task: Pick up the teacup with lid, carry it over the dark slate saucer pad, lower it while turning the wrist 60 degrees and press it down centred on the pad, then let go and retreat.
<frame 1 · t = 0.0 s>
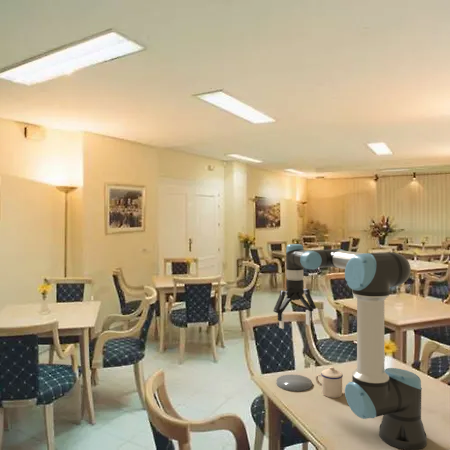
hand: (295, 326, 182), 28 cm above the table, fingers open, 13 cm apart
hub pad: (294, 383, 188), on the table
teacup with lid: (328, 393, 178), on the table
coffee cup: (374, 396, 175), on the table
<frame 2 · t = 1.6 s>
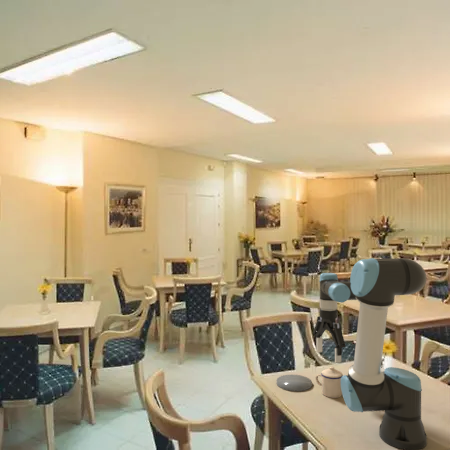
hand: (328, 357, 178), 16 cm above the table, fingers open, 13 cm apart
nothing on the table moved.
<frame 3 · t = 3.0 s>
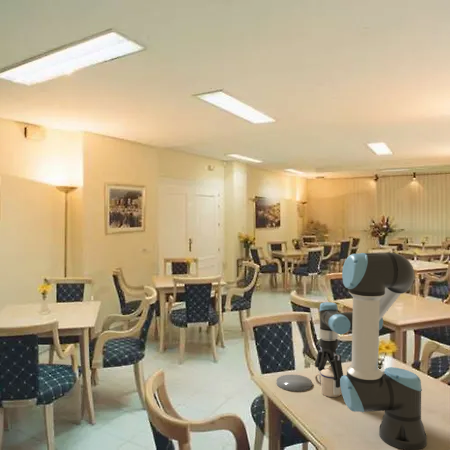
hand: (329, 389, 178), 2 cm above the table, fingers open, 10 cm apart
teacup with lid: (328, 392, 179), on the table, touching gripper
everything else where it was.
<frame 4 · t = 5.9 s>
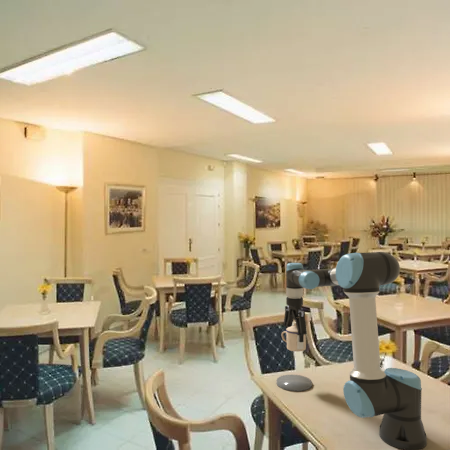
hand: (294, 345, 188), 18 cm above the table, fingers closed on teacup with lid, 9 cm apart
teacup with lid: (293, 348, 189), point 16 cm above the table, touching gripper
everything else where it was.
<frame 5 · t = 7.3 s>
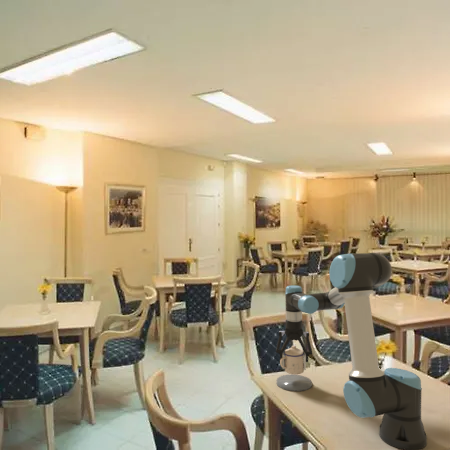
hand: (294, 368, 188), 7 cm above the table, fingers closed on teacup with lid, 9 cm apart
teacup with lid: (291, 372, 188), point 5 cm above the table, touching gripper
everything else where it was.
when the fingers open (4 cm above the table, at t = 8.4 s): teacup with lid drops 1 cm, resting on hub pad.
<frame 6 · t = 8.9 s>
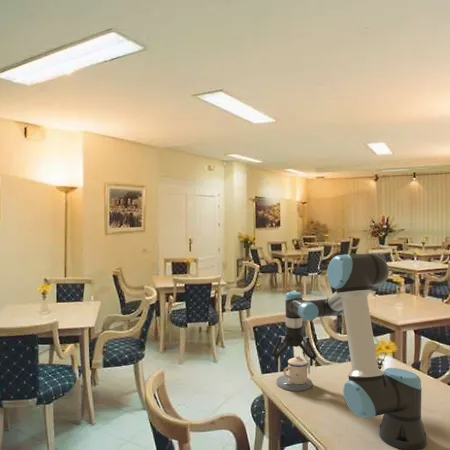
hand: (294, 371, 188), 6 cm above the table, fingers open, 13 cm apart
teacup with lid: (294, 381, 188), point 1 cm above the table, touching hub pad
everything else where it was.
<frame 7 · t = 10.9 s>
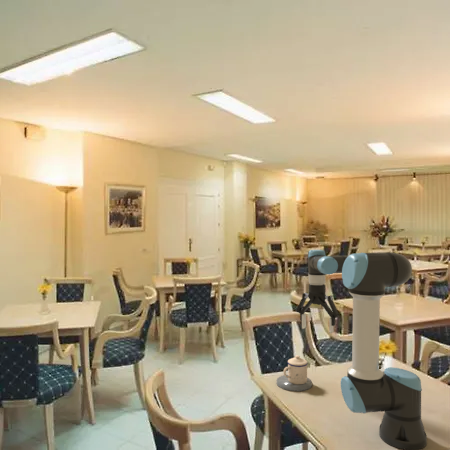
hand: (317, 330, 186), 25 cm above the table, fingers open, 13 cm apart
nothing on the table moved.
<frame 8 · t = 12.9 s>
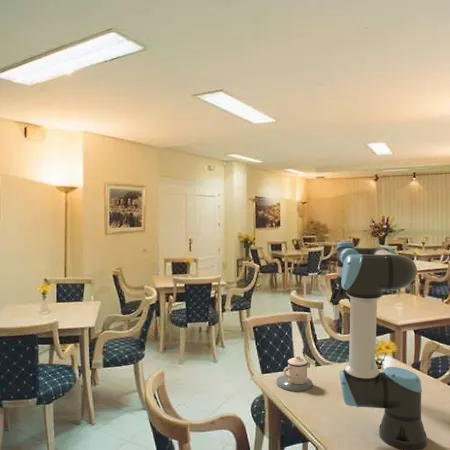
hand: (345, 322, 186), 29 cm above the table, fingers open, 13 cm apart
nothing on the table moved.
at the end: teacup with lid 0.4 cm from the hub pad (horizontally); teacup with lid tilted 0°; the gripper is holding nothing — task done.
